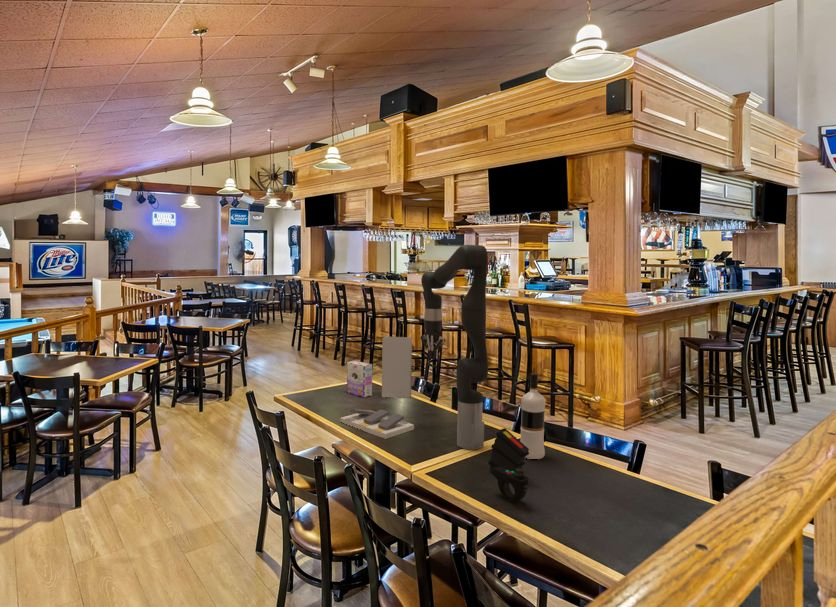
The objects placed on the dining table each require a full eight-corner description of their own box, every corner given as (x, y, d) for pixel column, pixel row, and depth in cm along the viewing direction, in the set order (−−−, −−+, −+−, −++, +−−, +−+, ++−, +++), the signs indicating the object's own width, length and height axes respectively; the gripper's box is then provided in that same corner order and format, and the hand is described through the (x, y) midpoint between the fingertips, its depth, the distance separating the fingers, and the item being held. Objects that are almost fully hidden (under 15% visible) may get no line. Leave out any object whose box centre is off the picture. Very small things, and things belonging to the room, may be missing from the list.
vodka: (512, 453, 187) (515, 372, 185) (531, 449, 192) (534, 369, 190) (531, 462, 180) (534, 377, 177) (550, 457, 185) (553, 374, 182)
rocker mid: (389, 414, 217) (388, 411, 217) (371, 424, 210) (371, 421, 210) (381, 411, 221) (380, 409, 220) (363, 421, 214) (363, 418, 214)
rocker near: (404, 418, 211) (403, 415, 211) (386, 430, 204) (386, 427, 204) (395, 415, 215) (395, 413, 214) (378, 427, 208) (377, 424, 207)
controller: (520, 508, 146) (522, 474, 145) (488, 492, 156) (489, 460, 155) (530, 504, 149) (531, 470, 148) (498, 489, 159) (499, 457, 158)
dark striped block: (487, 461, 176) (504, 426, 170) (516, 488, 168) (535, 453, 162) (481, 464, 173) (497, 429, 168) (509, 492, 166) (528, 456, 160)
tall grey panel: (411, 395, 264) (411, 337, 261) (409, 398, 258) (410, 339, 256) (383, 394, 265) (384, 336, 263) (381, 397, 260) (382, 338, 257)
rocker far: (374, 415, 224) (375, 412, 224) (357, 413, 216) (358, 410, 217) (367, 412, 227) (367, 410, 227) (350, 411, 220) (350, 408, 220)
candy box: (372, 396, 262) (372, 364, 261) (363, 398, 258) (363, 365, 257) (355, 390, 272) (355, 360, 270) (346, 392, 267) (346, 361, 266)
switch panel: (413, 429, 212) (414, 423, 212) (385, 438, 201) (385, 432, 200) (368, 414, 231) (368, 408, 231) (340, 422, 220) (340, 416, 219)
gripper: (450, 319, 219) (449, 360, 220) (427, 316, 228) (426, 355, 229) (439, 321, 213) (438, 362, 215) (415, 318, 222) (415, 358, 224)
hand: (432, 359), depth 222 cm, fingers closed
